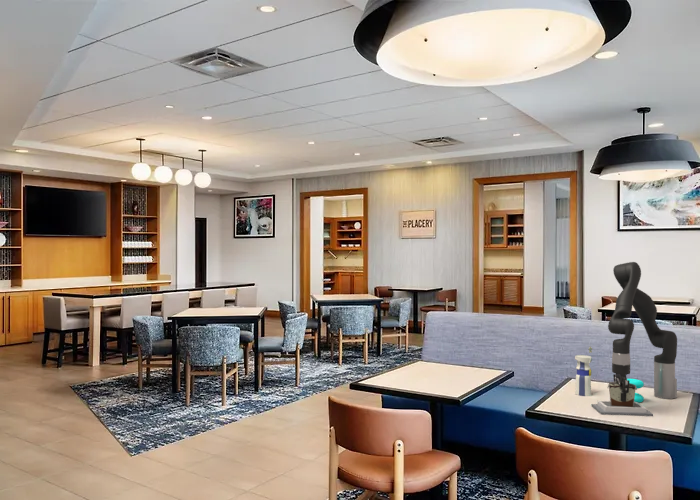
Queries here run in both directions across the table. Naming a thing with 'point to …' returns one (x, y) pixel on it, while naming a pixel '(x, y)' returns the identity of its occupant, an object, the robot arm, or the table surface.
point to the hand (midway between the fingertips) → (621, 399)
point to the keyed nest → (620, 409)
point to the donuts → (638, 384)
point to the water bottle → (583, 375)
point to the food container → (616, 395)
